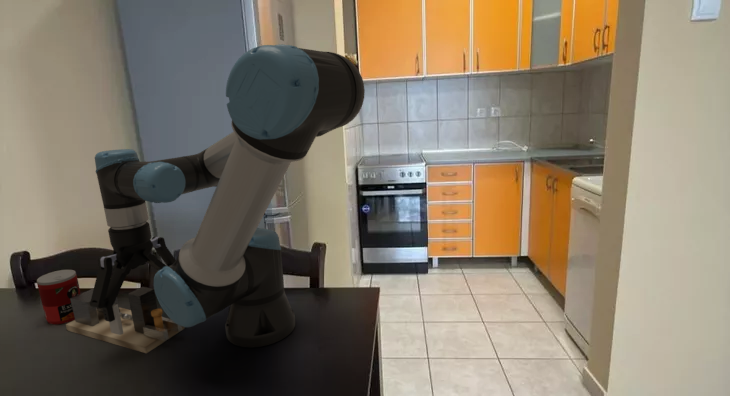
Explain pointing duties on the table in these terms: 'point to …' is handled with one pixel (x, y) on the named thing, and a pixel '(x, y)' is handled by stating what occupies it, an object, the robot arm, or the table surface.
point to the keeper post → (157, 317)
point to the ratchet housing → (86, 308)
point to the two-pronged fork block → (147, 314)
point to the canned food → (58, 295)
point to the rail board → (126, 339)
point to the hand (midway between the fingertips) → (145, 317)
